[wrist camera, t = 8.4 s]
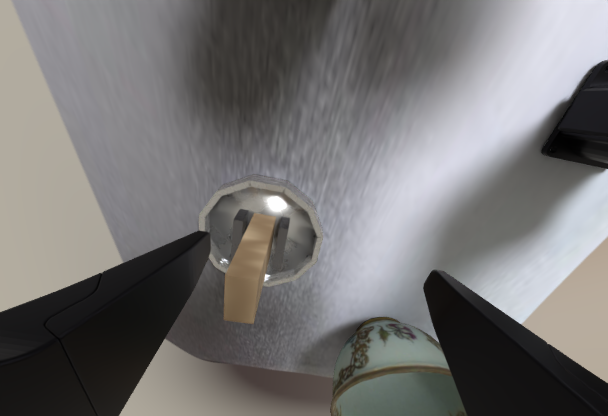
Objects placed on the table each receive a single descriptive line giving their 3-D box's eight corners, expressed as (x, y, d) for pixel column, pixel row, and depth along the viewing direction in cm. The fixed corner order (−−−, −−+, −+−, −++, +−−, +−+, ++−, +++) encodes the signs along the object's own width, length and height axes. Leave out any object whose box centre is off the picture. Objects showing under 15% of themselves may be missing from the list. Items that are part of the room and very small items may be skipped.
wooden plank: (276, 216, 21) (258, 280, 14) (271, 251, 23) (253, 324, 15) (254, 213, 21) (225, 275, 14) (251, 248, 23) (223, 319, 15)
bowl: (328, 367, 32) (333, 446, 25) (321, 297, 26) (326, 374, 19) (429, 363, 31) (465, 444, 24) (446, 290, 25) (500, 368, 18)
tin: (332, 189, 20) (335, 201, 18) (307, 281, 25) (307, 300, 23) (206, 165, 19) (193, 174, 17) (206, 265, 24) (195, 282, 22)
